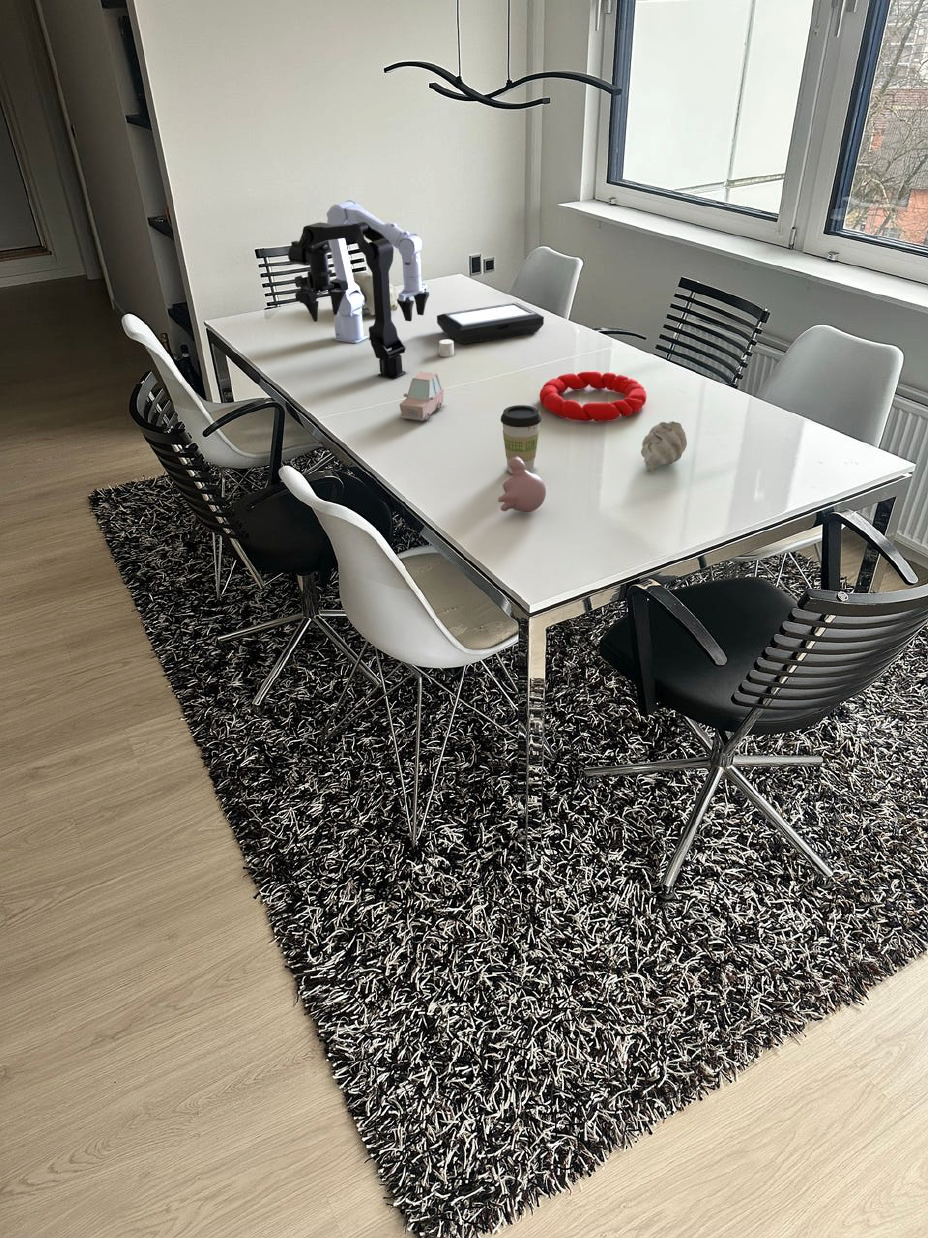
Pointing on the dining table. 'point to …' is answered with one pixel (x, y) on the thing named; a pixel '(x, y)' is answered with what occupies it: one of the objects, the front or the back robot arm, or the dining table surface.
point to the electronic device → (490, 322)
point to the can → (446, 348)
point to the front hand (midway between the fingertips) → (325, 318)
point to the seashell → (663, 445)
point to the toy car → (422, 397)
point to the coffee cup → (521, 433)
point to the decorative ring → (593, 410)
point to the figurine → (522, 489)
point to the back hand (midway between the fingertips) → (414, 317)
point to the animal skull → (367, 291)
